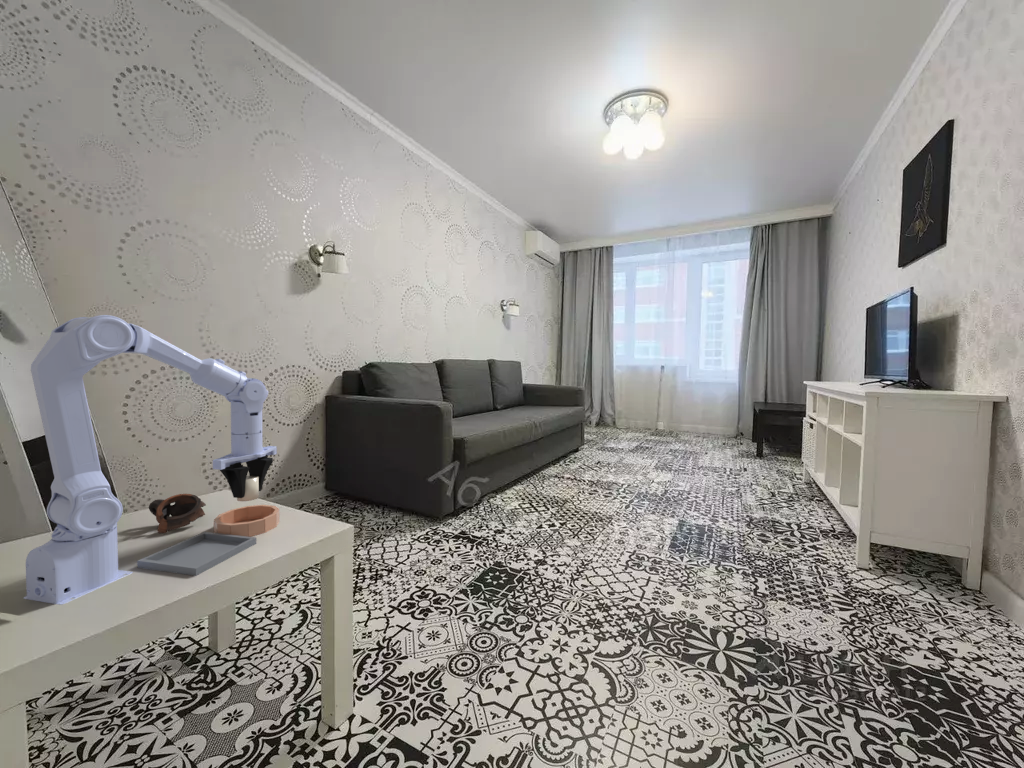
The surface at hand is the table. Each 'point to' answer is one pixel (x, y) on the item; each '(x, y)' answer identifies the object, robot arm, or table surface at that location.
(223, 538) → the parts tray
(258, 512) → the terracotta bowl
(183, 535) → the table surface
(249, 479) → the cream rounded cylinder
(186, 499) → the broken clay pot
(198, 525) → the table surface
